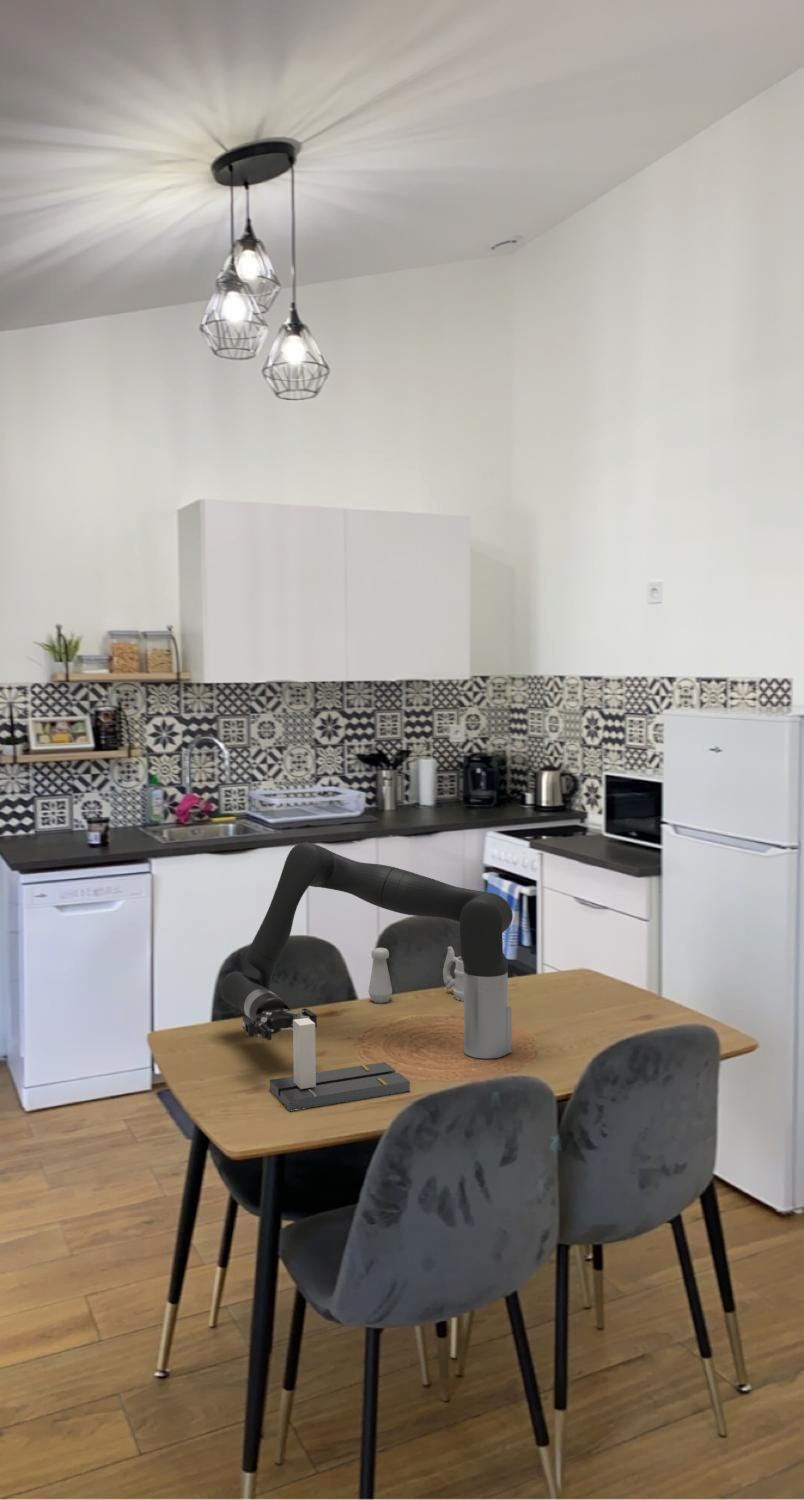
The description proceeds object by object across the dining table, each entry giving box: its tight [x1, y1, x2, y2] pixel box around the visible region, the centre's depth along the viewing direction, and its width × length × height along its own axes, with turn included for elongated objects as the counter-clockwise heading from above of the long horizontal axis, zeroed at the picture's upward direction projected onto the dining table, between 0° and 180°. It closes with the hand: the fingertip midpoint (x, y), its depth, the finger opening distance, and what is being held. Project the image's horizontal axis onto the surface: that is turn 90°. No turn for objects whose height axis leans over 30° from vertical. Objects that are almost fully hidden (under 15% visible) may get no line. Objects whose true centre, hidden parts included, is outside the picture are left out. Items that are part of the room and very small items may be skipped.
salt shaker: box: [368, 947, 393, 1004], centre depth 273 cm, size 6×6×13 cm
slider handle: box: [292, 1018, 317, 1089], centre depth 209 cm, size 3×4×13 cm
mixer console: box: [269, 1061, 411, 1112], centre depth 212 cm, size 24×12×2 cm, turn 114°
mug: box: [442, 946, 464, 1002], centre depth 276 cm, size 8×12×12 cm, turn 49°
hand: (290, 1032), depth 216 cm, fingers open, 8 cm apart
